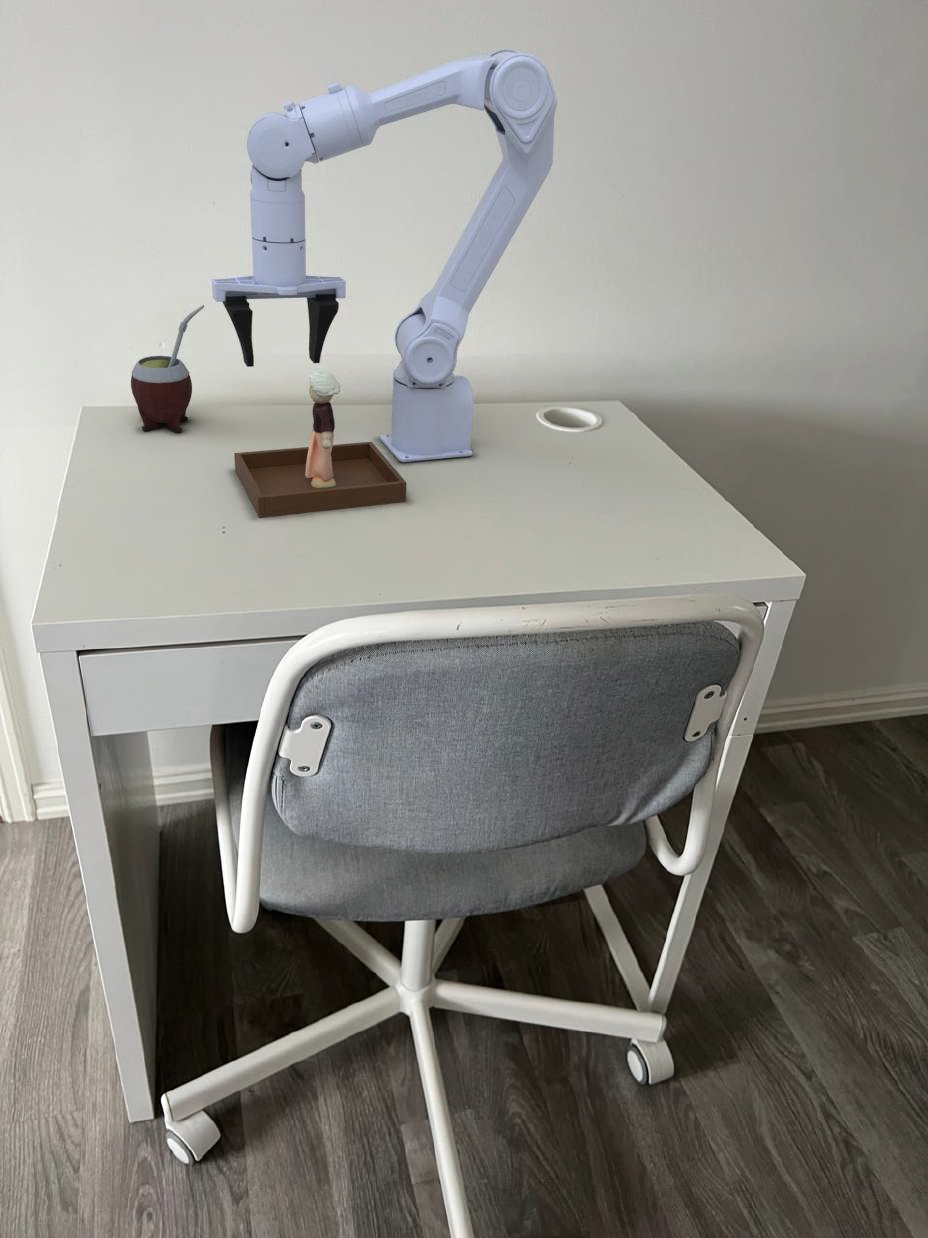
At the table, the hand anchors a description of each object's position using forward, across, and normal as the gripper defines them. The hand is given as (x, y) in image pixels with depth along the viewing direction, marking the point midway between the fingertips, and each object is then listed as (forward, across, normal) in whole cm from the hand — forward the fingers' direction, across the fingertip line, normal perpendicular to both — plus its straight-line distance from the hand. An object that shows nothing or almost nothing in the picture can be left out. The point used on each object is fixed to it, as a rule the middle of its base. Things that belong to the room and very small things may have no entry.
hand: (282, 362), depth 112 cm
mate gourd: (+11, -12, +10) cm, 19 cm away
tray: (+10, +1, -12) cm, 16 cm away
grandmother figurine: (+10, +1, -12) cm, 16 cm away
